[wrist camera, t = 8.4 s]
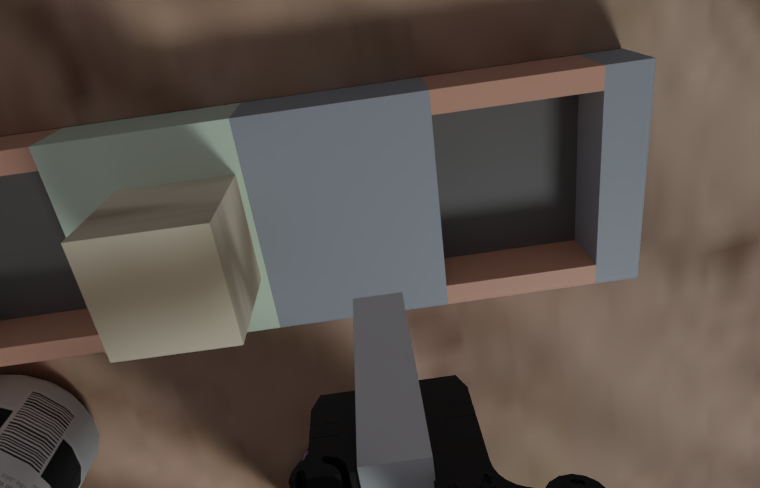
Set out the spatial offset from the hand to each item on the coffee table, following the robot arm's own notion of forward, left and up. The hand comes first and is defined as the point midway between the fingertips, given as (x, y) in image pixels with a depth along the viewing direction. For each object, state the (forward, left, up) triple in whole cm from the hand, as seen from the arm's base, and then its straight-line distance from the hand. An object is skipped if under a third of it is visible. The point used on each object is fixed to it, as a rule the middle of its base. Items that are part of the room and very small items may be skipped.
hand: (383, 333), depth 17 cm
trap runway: (+1, +5, -11) cm, 12 cm away
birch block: (+1, +8, -8) cm, 11 cm away
